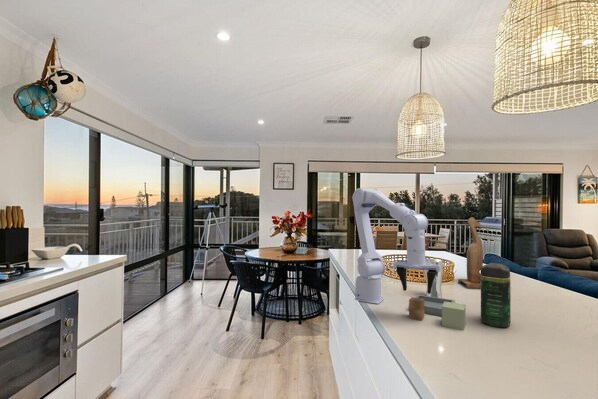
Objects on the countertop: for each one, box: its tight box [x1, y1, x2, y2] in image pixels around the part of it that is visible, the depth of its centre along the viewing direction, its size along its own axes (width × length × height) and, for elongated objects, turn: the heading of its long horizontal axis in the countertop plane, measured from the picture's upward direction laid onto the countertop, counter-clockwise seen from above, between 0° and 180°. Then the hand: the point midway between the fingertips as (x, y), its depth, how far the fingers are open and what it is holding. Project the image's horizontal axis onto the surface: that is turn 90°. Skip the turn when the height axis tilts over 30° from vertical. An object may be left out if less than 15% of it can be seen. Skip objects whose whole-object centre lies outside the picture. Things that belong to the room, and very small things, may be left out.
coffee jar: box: [480, 262, 512, 328], centre depth 96 cm, size 10×8×19 cm
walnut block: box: [408, 296, 425, 322], centre depth 100 cm, size 4×4×6 cm
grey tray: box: [414, 294, 456, 317], centre depth 109 cm, size 13×13×2 cm
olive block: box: [441, 301, 467, 331], centre depth 94 cm, size 6×6×6 cm
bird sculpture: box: [457, 216, 484, 290], centre depth 140 cm, size 11×12×32 cm
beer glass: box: [424, 258, 444, 298], centre depth 123 cm, size 7×7×15 cm
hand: (416, 291), depth 100 cm, fingers open, 7 cm apart
